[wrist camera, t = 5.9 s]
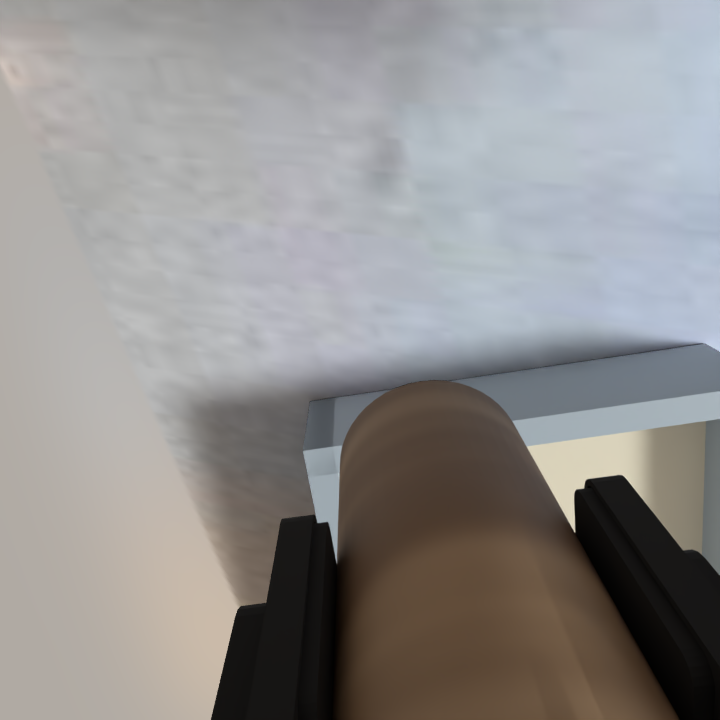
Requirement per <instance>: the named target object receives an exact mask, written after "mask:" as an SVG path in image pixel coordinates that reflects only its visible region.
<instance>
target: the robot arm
mask: <svg viewBox="0 0 720 720" xmlns="http://www.w3.org/2000/svg"><path fill="white" fill-rule="evenodd" d="M574 510H575V534H576V536H577V537H578V539H579V541H580V543H581V544H582V546H583V548H584V550H585V552H586V553H587V555H588V557H589V559H590V561H591V562H592V564H593V566H594V568H595V569H596V571H597V573H598V575H599V577H600V578H601V580H602V582H603V584H604V585H605V587H606V589H607V591H608V593H609V594H610V596H611V598H612V600H613V601H614V603H615V605H616V607H617V609H618V610H619V612H620V614H621V616H622V618H623V619H624V621H625V623H626V625H627V626H628V628H629V630H630V632H631V634H632V635H633V637H634V639H635V641H636V642H637V644H638V646H639V648H640V650H641V651H642V653H643V655H644V657H645V659H646V660H647V662H648V664H649V666H650V667H651V669H652V671H653V673H654V675H655V676H656V678H657V680H658V682H659V683H660V685H661V687H662V689H663V691H664V692H665V694H666V696H667V698H668V700H669V701H670V703H671V705H672V707H673V708H674V710H675V712H676V714H677V716H678V717H679V719H680V720H720V575H719V574H718V573H717V572H716V570H715V569H714V568H713V567H712V566H711V564H710V563H709V562H708V561H707V560H706V558H705V557H704V556H703V555H701V554H700V553H699V552H698V551H696V550H693V549H691V550H682V548H681V547H680V546H679V544H678V543H677V542H676V541H675V539H674V538H673V537H672V536H671V534H670V533H669V532H668V531H667V529H666V528H665V527H664V526H663V524H662V523H661V522H660V521H659V519H658V518H657V517H656V516H655V514H654V513H653V512H652V511H651V509H650V508H649V507H648V506H647V504H646V503H645V502H644V500H643V499H642V498H641V497H640V495H639V494H638V493H637V492H636V490H635V489H634V488H633V487H632V485H631V484H630V483H629V482H628V480H627V479H626V478H625V477H624V476H623V475H615V476H607V477H599V478H592V479H587V480H586V481H585V485H584V489H576V490H575V493H574ZM336 583H337V563H336V558H335V552H334V547H333V541H332V536H331V531H330V526H329V523H328V522H322V523H317V519H316V516H315V515H308V516H300V517H292V518H285V519H282V520H281V523H280V529H279V535H278V540H277V546H276V551H275V557H274V563H273V568H272V574H271V580H270V585H269V591H268V596H267V602H266V603H262V604H254V605H247V606H241V607H240V608H239V609H238V610H237V613H236V616H235V620H234V625H233V629H232V633H231V637H230V641H229V646H228V650H227V654H226V658H225V663H224V667H223V671H222V675H221V679H220V684H219V688H218V692H217V696H216V701H215V705H214V709H213V714H212V717H211V720H332V715H333V682H334V649H335V616H336Z"/></svg>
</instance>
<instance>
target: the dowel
mask: <svg viewBox="0 0 720 720" xmlns="http://www.w3.org/2000/svg"><path fill="white" fill-rule="evenodd" d="M332 720H680V719H679V717H678V716H677V714H676V712H675V710H674V708H673V707H672V705H671V703H670V701H669V700H668V698H667V696H666V694H665V692H664V691H663V689H662V687H661V685H660V683H659V682H658V680H657V678H656V676H655V675H654V673H653V671H652V669H651V667H650V666H649V664H648V662H647V660H646V659H645V657H644V655H643V653H642V651H641V650H640V648H639V646H638V644H637V642H636V641H635V639H634V637H633V635H632V634H631V632H630V630H629V628H628V626H627V625H626V623H625V621H624V619H623V618H622V616H621V614H620V612H619V610H618V609H617V607H616V605H615V603H614V601H613V600H612V598H611V596H610V594H609V593H608V591H607V589H606V587H605V585H604V584H603V582H602V580H601V578H600V577H599V575H598V573H597V571H596V569H595V568H594V566H593V564H592V562H591V561H590V559H589V557H588V555H587V553H586V552H585V550H584V548H583V546H582V544H581V543H580V541H579V539H578V537H577V536H576V534H575V532H574V530H573V528H572V527H571V525H570V523H569V521H568V520H567V518H566V516H565V514H564V512H563V511H562V509H561V507H560V505H559V503H558V502H557V500H556V498H555V496H554V495H553V493H552V491H551V489H550V487H549V486H548V484H547V482H546V480H545V479H544V477H543V475H542V473H541V471H540V470H539V468H538V466H537V464H536V463H535V461H534V459H533V457H532V455H531V454H530V452H529V450H528V448H527V446H526V445H525V443H524V441H523V439H522V438H521V436H520V434H519V432H518V430H517V429H516V427H515V425H514V423H513V422H512V420H511V419H510V417H509V416H508V414H507V413H506V412H505V411H504V409H503V408H502V407H501V406H500V405H499V404H498V403H497V402H495V401H494V400H493V399H492V398H491V397H489V396H487V395H486V394H484V393H483V392H481V391H479V390H477V389H474V388H472V387H470V386H467V385H464V384H460V383H456V382H450V381H441V380H429V381H419V382H414V383H409V384H406V385H403V386H400V387H397V388H395V389H393V390H391V391H388V392H386V393H385V394H383V395H381V396H380V397H378V398H377V399H375V400H374V401H373V402H372V403H370V404H369V405H368V406H367V407H366V408H365V409H364V410H363V411H362V412H361V413H360V414H359V415H358V416H357V418H356V419H355V421H354V422H353V423H352V425H351V427H350V429H349V431H348V432H347V434H346V437H345V440H344V442H343V445H342V450H341V455H340V476H339V509H338V541H337V583H336V616H335V649H334V682H333V715H332Z"/></svg>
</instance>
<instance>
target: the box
mask: <svg viewBox="0 0 720 720" xmlns="http://www.w3.org/2000/svg"><path fill="white" fill-rule="evenodd" d="M450 382H456V383H460V384H464V385H467V386H470V387H472V388H474V389H477V390H479V391H481V392H483V393H484V394H486V395H487V396H489V397H491V398H492V399H493V400H494V401H495V402H497V403H498V404H499V405H500V406H501V407H502V408H503V409H504V411H505V412H506V413H507V414H508V416H509V417H510V419H511V420H512V422H513V423H514V425H515V427H516V429H517V430H518V432H519V434H520V436H521V438H522V439H523V441H524V443H525V445H526V446H527V448H528V450H529V452H530V454H531V455H532V457H533V459H534V461H535V463H536V464H537V466H538V468H539V470H540V471H541V473H542V475H543V477H544V479H545V480H546V482H547V484H548V486H549V487H550V489H551V491H552V493H553V495H554V496H555V498H556V500H557V502H558V503H559V505H560V507H561V509H562V511H563V512H564V514H565V516H566V518H567V520H568V521H569V523H570V525H571V527H572V528H573V530H574V532H575V510H574V493H575V490H576V489H584V485H585V481H586V480H587V479H592V478H599V477H607V476H615V475H623V476H624V477H625V478H626V479H627V480H628V482H629V483H630V484H631V485H632V487H633V488H634V489H635V490H636V492H637V493H638V494H639V495H640V497H641V498H642V499H643V500H644V502H645V503H646V504H647V506H648V507H649V508H650V509H651V511H652V512H653V513H654V514H655V516H656V517H657V518H658V519H659V521H660V522H661V523H662V524H663V526H664V527H665V528H666V529H667V531H668V532H669V533H670V534H671V536H672V537H673V538H674V539H675V541H676V542H677V543H678V544H679V546H680V547H681V548H682V550H691V549H693V550H696V551H698V552H699V553H700V554H701V555H703V556H704V557H705V558H706V560H707V561H708V562H709V563H710V564H711V566H712V567H713V568H714V569H715V570H716V572H717V573H718V574H719V575H720V352H719V351H717V350H715V349H714V348H712V347H710V346H709V345H707V344H700V345H693V346H686V347H679V348H672V349H665V350H658V351H652V352H645V353H638V354H631V355H624V356H617V357H611V358H604V359H597V360H590V361H583V362H576V363H569V364H563V365H556V366H549V367H542V368H535V369H528V370H522V371H515V372H508V373H501V374H494V375H487V376H480V377H474V378H467V379H460V380H453V381H450ZM391 390H393V389H391ZM391 390H385V391H378V392H371V393H364V394H357V395H350V396H343V397H337V398H330V399H323V400H316V401H310V405H309V412H308V419H307V426H306V433H305V440H304V447H303V454H304V459H305V464H306V469H307V474H308V479H309V484H310V489H311V494H312V499H313V504H314V509H315V514H316V519H317V523H322V522H328V523H329V526H330V531H331V536H332V541H333V547H334V552H335V558H336V563H337V541H338V509H339V476H340V455H341V450H342V445H343V442H344V440H345V437H346V434H347V432H348V431H349V429H350V427H351V425H352V423H353V422H354V421H355V419H356V418H357V416H358V415H359V414H360V413H361V412H362V411H363V410H364V409H365V408H366V407H367V406H368V405H369V404H370V403H372V402H373V401H374V400H375V399H377V398H378V397H380V396H381V395H383V394H385V393H386V392H388V391H391Z"/></svg>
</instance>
